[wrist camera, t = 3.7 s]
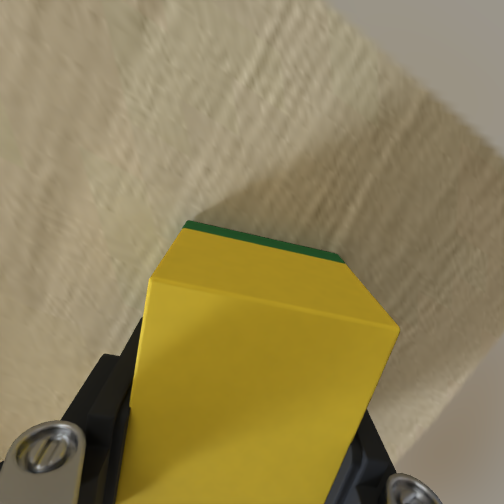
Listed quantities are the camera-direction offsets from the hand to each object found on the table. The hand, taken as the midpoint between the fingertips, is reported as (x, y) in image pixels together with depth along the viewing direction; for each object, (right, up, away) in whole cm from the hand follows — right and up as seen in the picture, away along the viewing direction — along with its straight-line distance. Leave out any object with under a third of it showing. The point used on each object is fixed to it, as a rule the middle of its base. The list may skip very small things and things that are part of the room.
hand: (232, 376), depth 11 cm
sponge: (0, 0, +1) cm, 1 cm away
